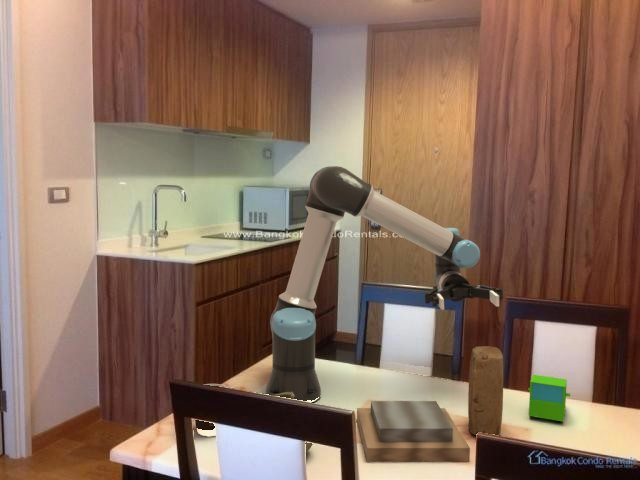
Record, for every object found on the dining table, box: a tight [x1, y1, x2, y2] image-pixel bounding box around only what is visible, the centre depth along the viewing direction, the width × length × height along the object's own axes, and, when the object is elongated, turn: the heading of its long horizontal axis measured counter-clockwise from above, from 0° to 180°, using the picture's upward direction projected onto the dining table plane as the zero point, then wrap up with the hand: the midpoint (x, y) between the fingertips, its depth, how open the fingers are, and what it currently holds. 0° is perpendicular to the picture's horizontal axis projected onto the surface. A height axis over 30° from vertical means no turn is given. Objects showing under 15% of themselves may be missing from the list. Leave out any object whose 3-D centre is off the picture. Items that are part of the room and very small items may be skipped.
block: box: [467, 345, 504, 436], centre depth 141 cm, size 11×8×20 cm
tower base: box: [356, 400, 471, 463], centre depth 136 cm, size 22×22×6 cm
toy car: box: [528, 374, 571, 423], centre depth 153 cm, size 10×13×10 cm
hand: (470, 302), depth 147 cm, fingers open, 13 cm apart
